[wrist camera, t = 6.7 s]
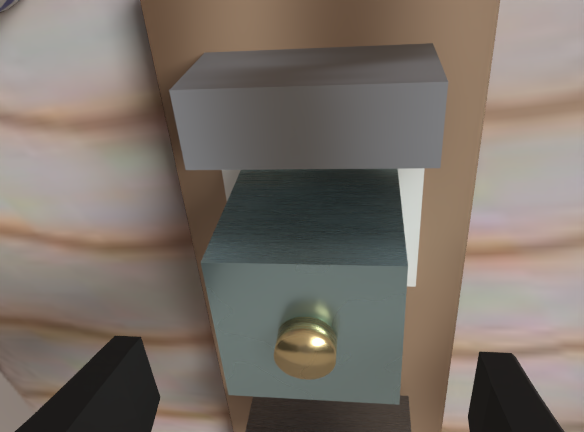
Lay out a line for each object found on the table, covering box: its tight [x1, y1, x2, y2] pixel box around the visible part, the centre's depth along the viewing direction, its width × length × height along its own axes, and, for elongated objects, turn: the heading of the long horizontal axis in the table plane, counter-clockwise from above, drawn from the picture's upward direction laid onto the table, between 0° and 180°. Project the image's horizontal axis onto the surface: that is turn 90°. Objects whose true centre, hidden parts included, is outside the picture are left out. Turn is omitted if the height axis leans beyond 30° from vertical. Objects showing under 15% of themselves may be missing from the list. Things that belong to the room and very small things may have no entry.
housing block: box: [201, 169, 408, 405], centre depth 14 cm, size 4×4×6 cm
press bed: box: [140, 0, 500, 432], centre depth 18 cm, size 9×24×4 cm, turn 4°
